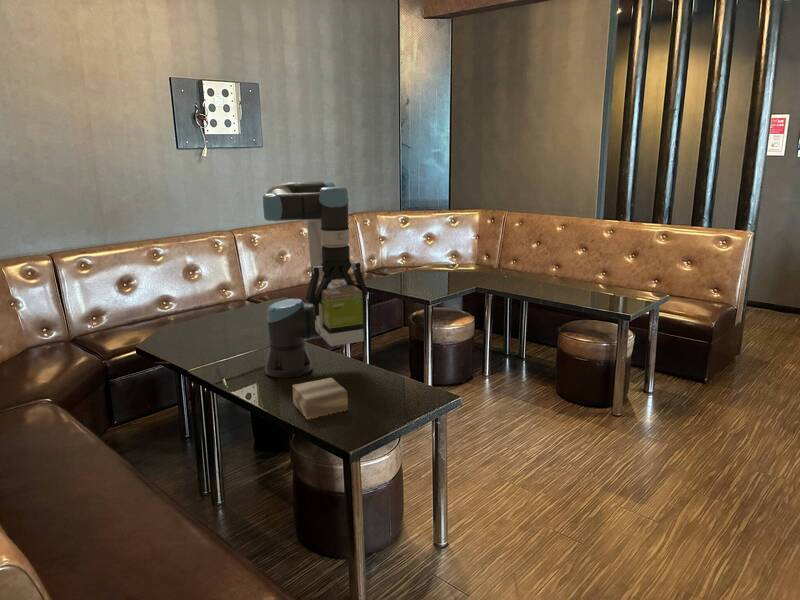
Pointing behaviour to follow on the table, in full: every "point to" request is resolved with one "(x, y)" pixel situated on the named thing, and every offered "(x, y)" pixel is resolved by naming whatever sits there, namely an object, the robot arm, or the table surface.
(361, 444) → the table surface
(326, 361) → the table surface
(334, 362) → the table surface
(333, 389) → the oak block
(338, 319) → the tea box
